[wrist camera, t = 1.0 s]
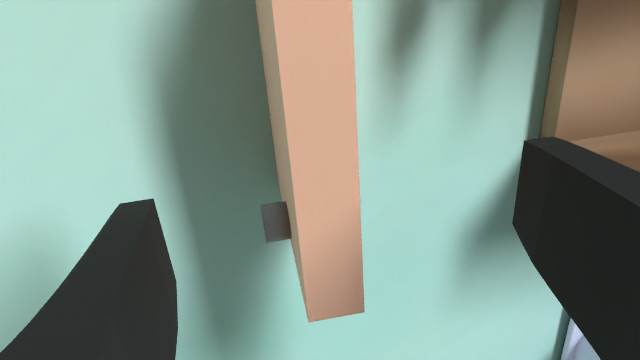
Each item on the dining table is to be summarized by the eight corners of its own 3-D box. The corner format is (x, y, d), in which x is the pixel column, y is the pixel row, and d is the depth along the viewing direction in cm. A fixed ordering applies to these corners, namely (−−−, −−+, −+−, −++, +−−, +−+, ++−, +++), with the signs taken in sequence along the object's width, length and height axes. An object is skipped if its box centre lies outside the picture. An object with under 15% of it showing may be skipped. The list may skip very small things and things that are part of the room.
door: (320, 179, 22) (364, 312, 17) (257, 189, 22) (280, 327, 16) (293, -151, 16) (347, -122, 11) (206, -143, 16) (213, -108, 10)
